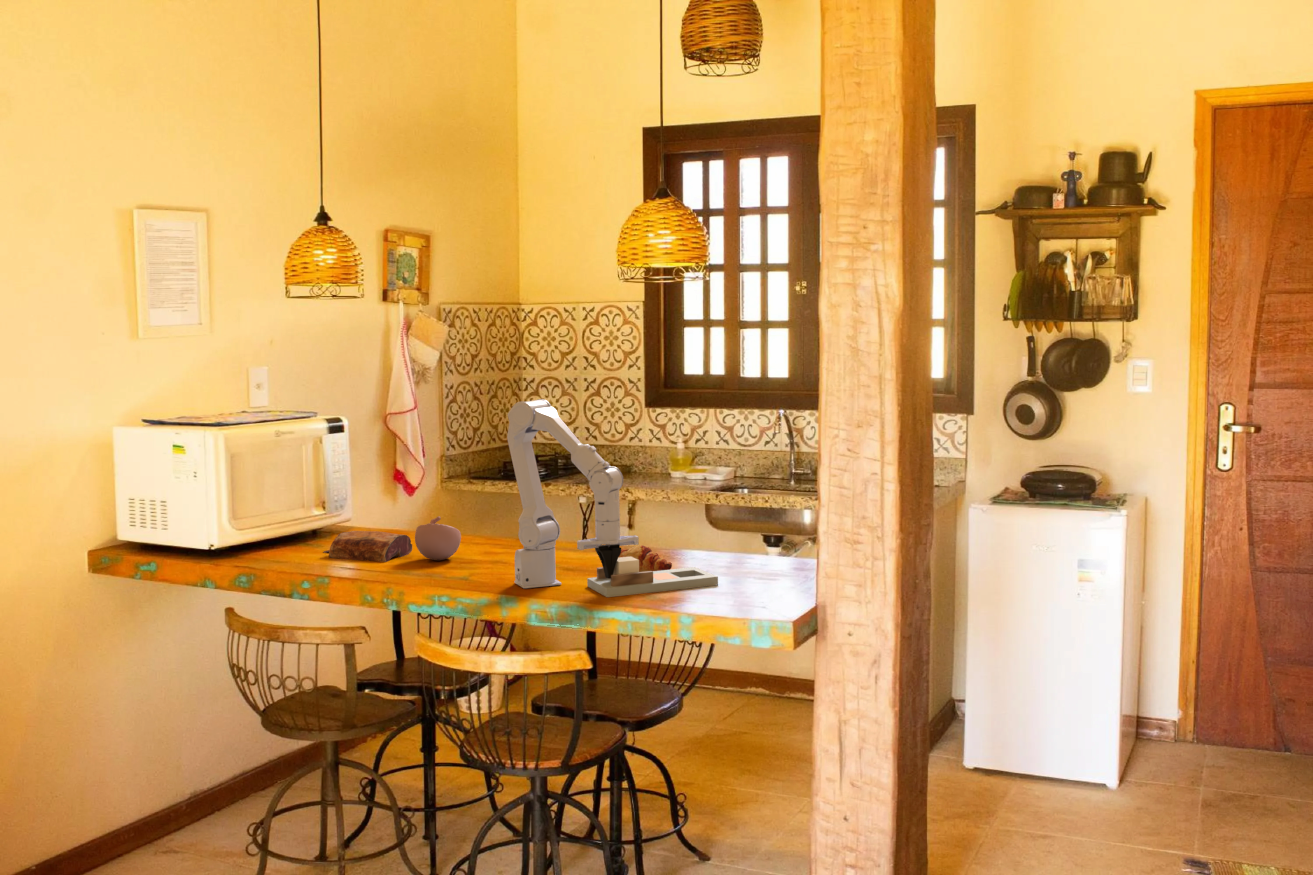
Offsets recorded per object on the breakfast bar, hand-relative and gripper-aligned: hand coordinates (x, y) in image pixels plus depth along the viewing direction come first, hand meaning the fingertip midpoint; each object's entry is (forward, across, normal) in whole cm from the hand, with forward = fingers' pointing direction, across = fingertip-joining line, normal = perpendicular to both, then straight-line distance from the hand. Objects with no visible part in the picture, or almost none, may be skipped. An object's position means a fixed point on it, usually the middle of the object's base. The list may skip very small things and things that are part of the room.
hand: (608, 577), depth 297 cm
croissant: (+3, +15, +19) cm, 24 cm away
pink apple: (+3, -27, +56) cm, 63 cm away
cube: (+1, +4, 0) cm, 4 cm away
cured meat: (+4, -44, +75) cm, 87 cm away
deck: (+3, +11, 0) cm, 11 cm away
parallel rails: (+1, +4, 0) cm, 4 cm away
